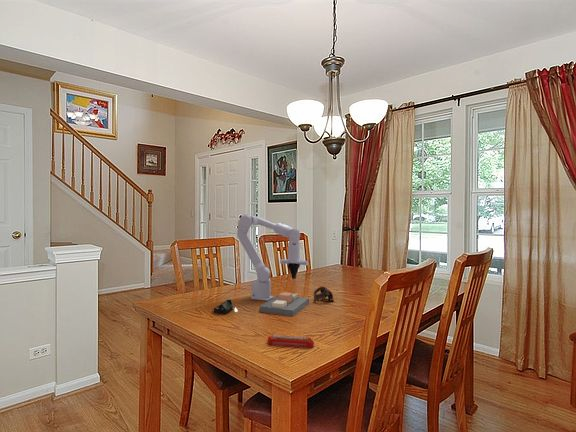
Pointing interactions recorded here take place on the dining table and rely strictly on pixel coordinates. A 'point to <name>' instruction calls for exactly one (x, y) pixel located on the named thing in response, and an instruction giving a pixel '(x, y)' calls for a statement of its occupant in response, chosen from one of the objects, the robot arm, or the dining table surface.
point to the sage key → (294, 297)
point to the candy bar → (290, 341)
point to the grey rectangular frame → (288, 310)
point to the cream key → (279, 304)
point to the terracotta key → (285, 297)
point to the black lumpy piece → (224, 307)
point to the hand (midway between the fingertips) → (293, 278)
